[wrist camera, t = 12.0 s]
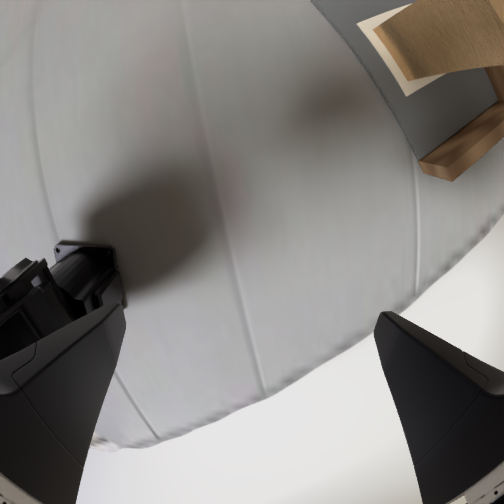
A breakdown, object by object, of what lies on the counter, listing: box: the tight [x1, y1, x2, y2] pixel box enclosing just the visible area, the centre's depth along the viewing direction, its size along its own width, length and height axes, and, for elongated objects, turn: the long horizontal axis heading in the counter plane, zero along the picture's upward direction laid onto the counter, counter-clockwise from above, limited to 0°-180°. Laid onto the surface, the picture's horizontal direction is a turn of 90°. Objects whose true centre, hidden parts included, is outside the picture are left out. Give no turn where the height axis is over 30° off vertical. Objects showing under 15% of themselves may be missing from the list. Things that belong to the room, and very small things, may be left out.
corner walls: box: [418, 65, 504, 182], centre depth 14 cm, size 15×17×4 cm
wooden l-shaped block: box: [373, 0, 504, 81], centre depth 9 cm, size 8×5×12 cm, turn 126°
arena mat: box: [311, 0, 498, 159], centre depth 15 cm, size 14×16×1 cm
